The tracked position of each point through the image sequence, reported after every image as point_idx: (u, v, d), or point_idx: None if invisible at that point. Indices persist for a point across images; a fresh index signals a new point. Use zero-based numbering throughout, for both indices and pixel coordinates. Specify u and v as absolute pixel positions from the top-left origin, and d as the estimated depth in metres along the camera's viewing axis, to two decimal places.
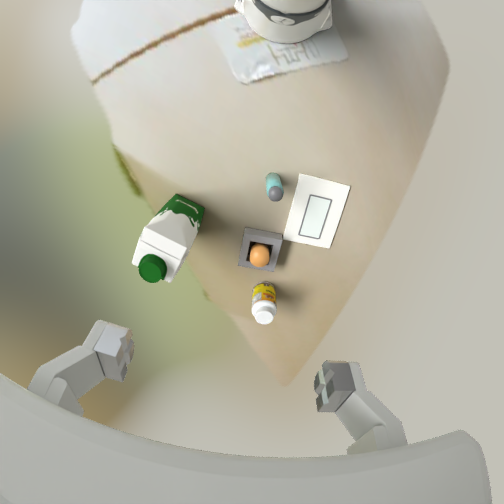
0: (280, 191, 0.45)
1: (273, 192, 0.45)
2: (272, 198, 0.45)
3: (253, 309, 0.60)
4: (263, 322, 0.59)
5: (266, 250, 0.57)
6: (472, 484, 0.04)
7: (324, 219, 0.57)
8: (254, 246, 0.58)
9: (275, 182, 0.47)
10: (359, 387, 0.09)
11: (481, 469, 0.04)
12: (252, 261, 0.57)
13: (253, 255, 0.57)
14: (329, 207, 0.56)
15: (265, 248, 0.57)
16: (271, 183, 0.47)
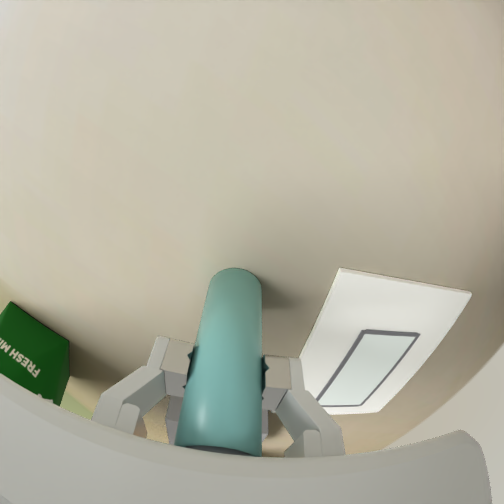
0: None
1: None
2: None
3: None
4: None
5: None
6: (472, 484, 0.04)
7: (385, 375, 0.18)
8: None
9: (218, 402, 0.07)
10: (296, 385, 0.09)
11: (481, 469, 0.04)
12: None
13: None
14: (405, 352, 0.17)
15: None
16: (196, 406, 0.07)
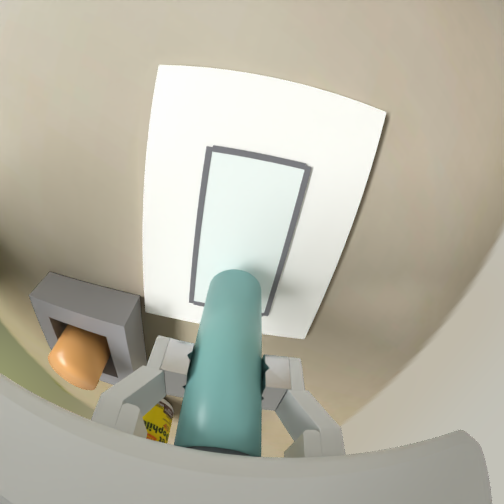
0: None
1: None
2: None
3: None
4: None
5: (83, 352, 0.14)
6: (472, 484, 0.04)
7: (281, 250, 0.15)
8: (63, 332, 0.15)
9: (218, 403, 0.07)
10: (296, 385, 0.09)
11: (481, 469, 0.04)
12: (60, 374, 0.15)
13: (53, 362, 0.14)
14: (298, 201, 0.13)
15: (82, 344, 0.15)
16: (196, 407, 0.07)
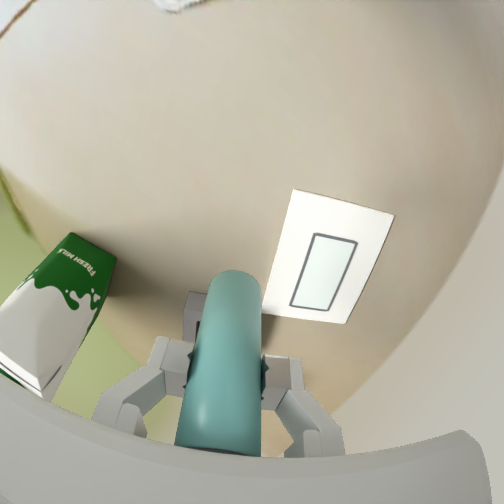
0: None
1: None
2: None
3: None
4: None
5: None
6: (472, 484, 0.04)
7: (340, 278, 0.29)
8: None
9: (218, 404, 0.07)
10: (296, 385, 0.09)
11: (481, 469, 0.04)
12: None
13: None
14: (350, 257, 0.28)
15: None
16: (196, 409, 0.07)
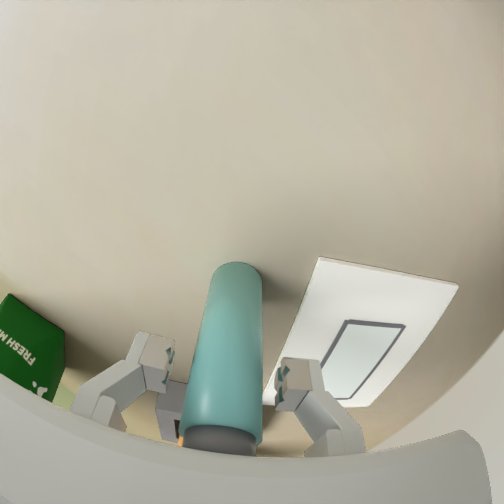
0: None
1: None
2: None
3: None
4: None
5: None
6: (472, 484, 0.04)
7: (372, 367, 0.19)
8: None
9: (222, 383, 0.08)
10: (316, 386, 0.09)
11: (481, 469, 0.04)
12: None
13: None
14: (391, 344, 0.17)
15: None
16: (201, 388, 0.08)
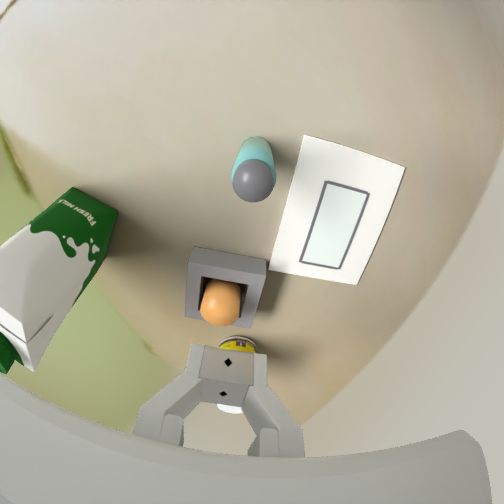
0: (266, 173, 0.15)
1: (246, 176, 0.15)
2: (244, 193, 0.16)
3: None
4: (232, 411, 0.30)
5: (233, 296, 0.28)
6: (472, 484, 0.04)
7: (352, 232, 0.28)
8: (210, 286, 0.29)
9: (255, 151, 0.17)
10: (258, 382, 0.09)
11: (481, 469, 0.04)
12: (206, 316, 0.28)
13: (205, 306, 0.27)
14: (362, 209, 0.26)
15: (231, 291, 0.28)
16: (244, 154, 0.17)
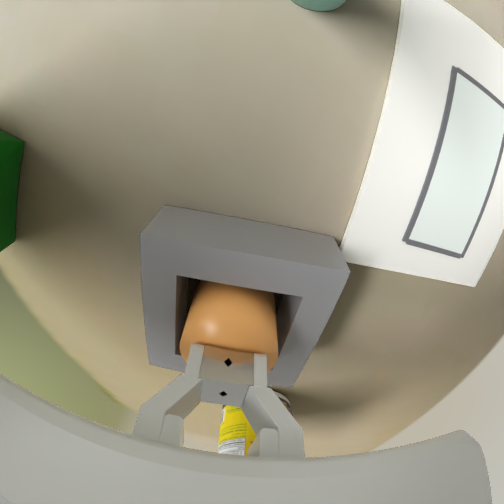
0: None
1: None
2: None
3: None
4: None
5: (263, 313, 0.11)
6: (472, 484, 0.04)
7: (489, 182, 0.10)
8: (205, 289, 0.12)
9: None
10: (258, 382, 0.09)
11: (481, 469, 0.04)
12: None
13: (192, 341, 0.10)
14: (503, 138, 0.09)
15: (257, 300, 0.11)
16: None
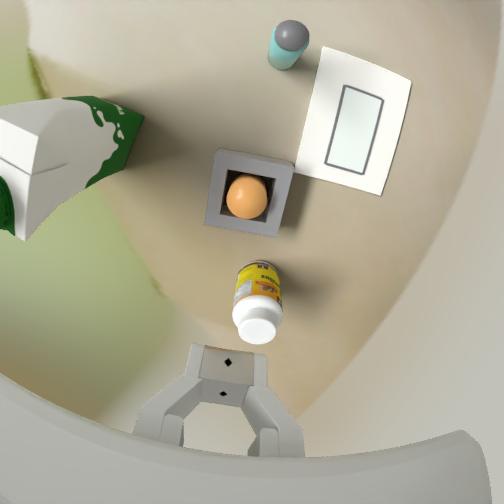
0: (303, 28, 0.14)
1: (286, 29, 0.14)
2: (285, 41, 0.15)
3: (235, 314, 0.29)
4: (255, 341, 0.28)
5: (261, 184, 0.27)
6: (472, 484, 0.04)
7: (372, 135, 0.26)
8: (237, 178, 0.28)
9: None
10: (258, 382, 0.09)
11: (481, 469, 0.04)
12: (232, 206, 0.27)
13: (233, 193, 0.27)
14: (379, 113, 0.25)
15: (258, 180, 0.28)
16: None
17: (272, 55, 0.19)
